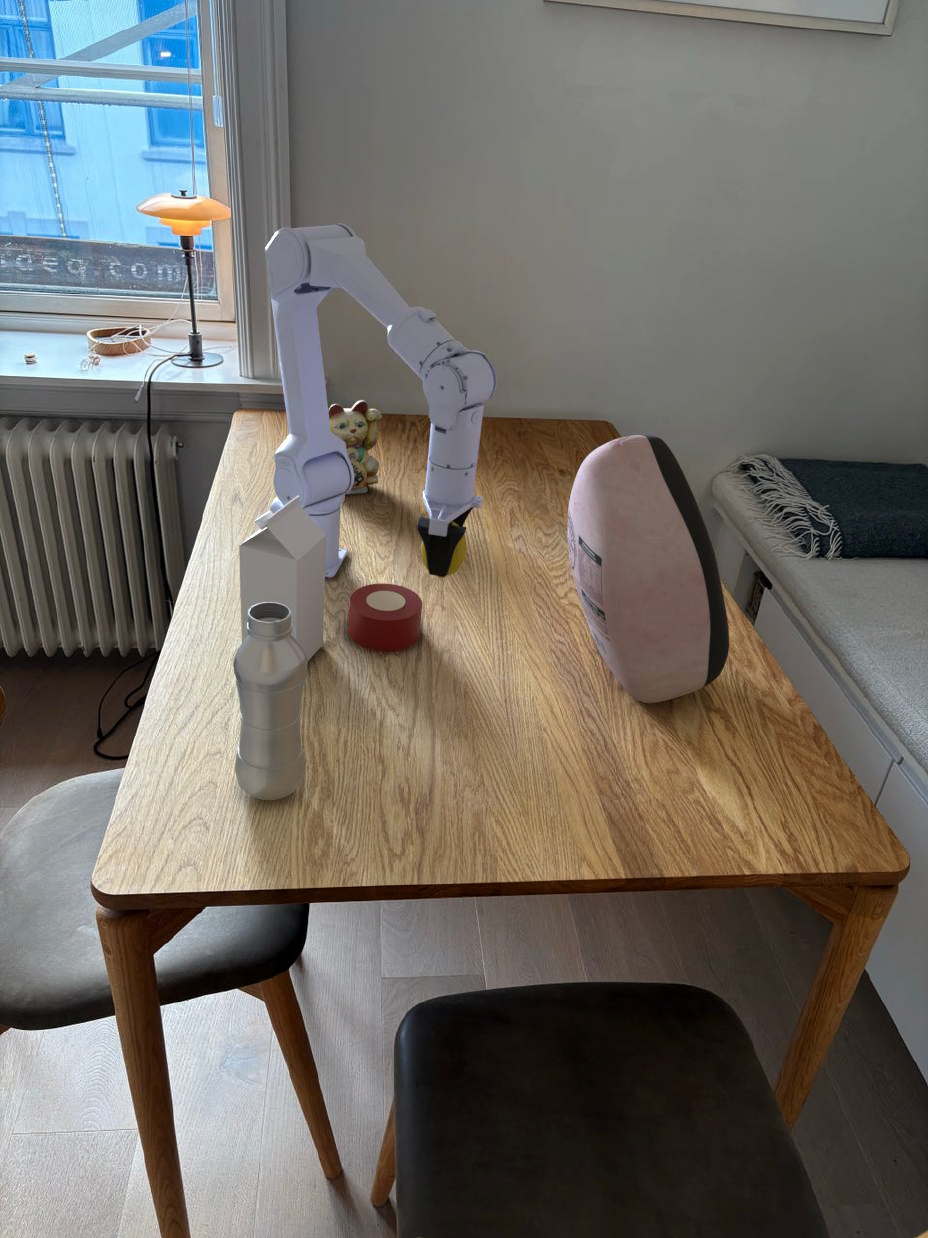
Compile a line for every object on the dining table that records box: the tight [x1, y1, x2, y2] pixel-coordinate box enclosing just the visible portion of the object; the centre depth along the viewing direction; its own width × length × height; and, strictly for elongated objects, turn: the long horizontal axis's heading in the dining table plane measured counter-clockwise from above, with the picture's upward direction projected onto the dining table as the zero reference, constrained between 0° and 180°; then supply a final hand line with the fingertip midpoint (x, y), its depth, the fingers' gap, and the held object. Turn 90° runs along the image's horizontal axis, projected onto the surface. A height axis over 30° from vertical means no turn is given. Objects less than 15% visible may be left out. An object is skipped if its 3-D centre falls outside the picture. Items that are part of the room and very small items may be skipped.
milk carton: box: [238, 496, 326, 662], centre depth 108 cm, size 7×7×19 cm
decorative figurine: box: [328, 399, 383, 495], centre depth 152 cm, size 10×8×15 cm
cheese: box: [347, 582, 423, 653], centre depth 118 cm, size 9×9×5 cm
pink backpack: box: [566, 434, 730, 704], centre depth 109 cm, size 22×20×30 cm
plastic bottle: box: [232, 602, 309, 801], centre depth 88 cm, size 6×7×20 cm
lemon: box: [420, 521, 467, 579], centre depth 116 cm, size 6×6×8 cm
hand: (441, 563), depth 117 cm, fingers closed on lemon, 5 cm apart
